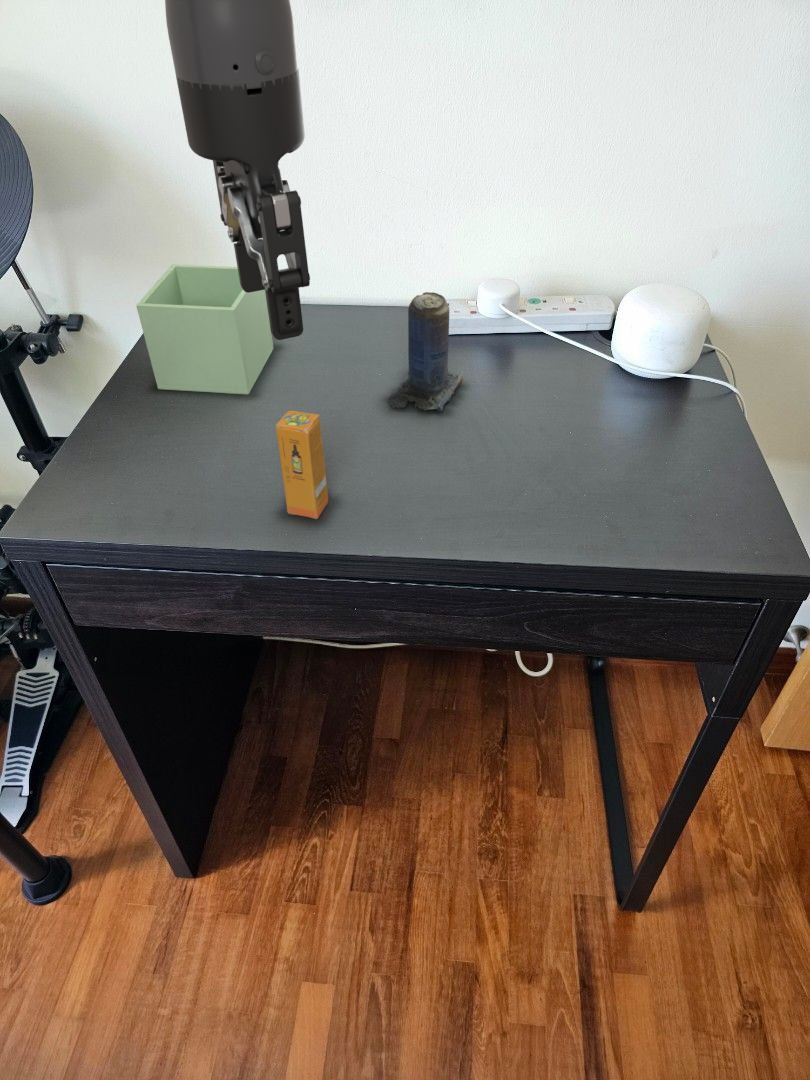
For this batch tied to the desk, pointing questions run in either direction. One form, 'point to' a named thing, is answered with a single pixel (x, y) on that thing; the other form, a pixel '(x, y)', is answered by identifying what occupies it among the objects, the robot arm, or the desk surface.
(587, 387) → the desk surface
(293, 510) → the supplement box
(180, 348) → the trash bin
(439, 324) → the beverage can
